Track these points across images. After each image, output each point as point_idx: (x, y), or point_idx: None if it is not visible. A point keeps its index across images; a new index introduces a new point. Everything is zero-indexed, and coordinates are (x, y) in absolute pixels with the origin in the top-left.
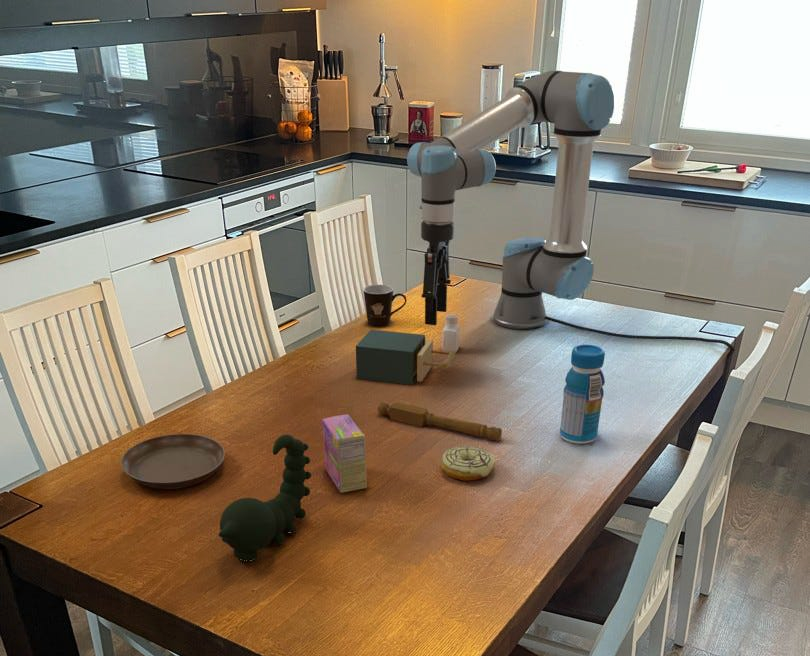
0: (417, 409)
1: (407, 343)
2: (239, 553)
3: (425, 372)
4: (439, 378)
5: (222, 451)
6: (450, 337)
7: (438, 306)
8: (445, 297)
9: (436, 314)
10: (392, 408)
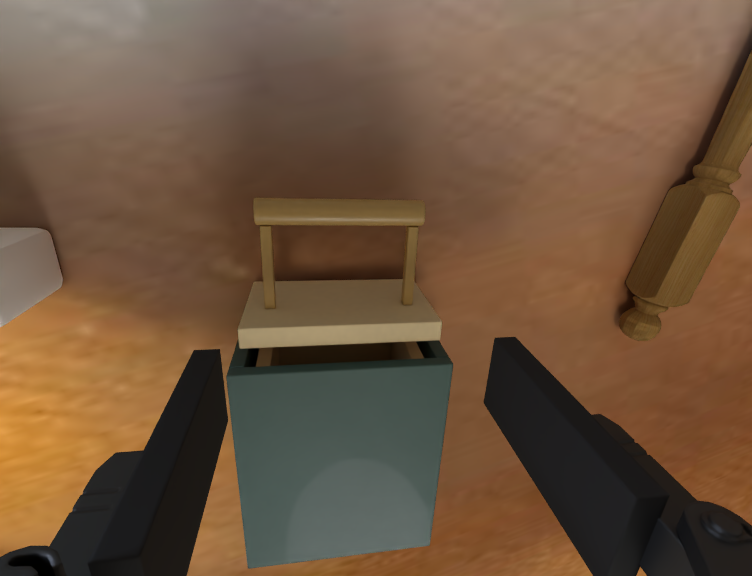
0: (707, 224)
1: (362, 410)
2: None
3: (363, 284)
4: (337, 230)
5: None
6: (13, 276)
7: (217, 425)
8: (187, 436)
9: (544, 379)
10: (688, 298)
